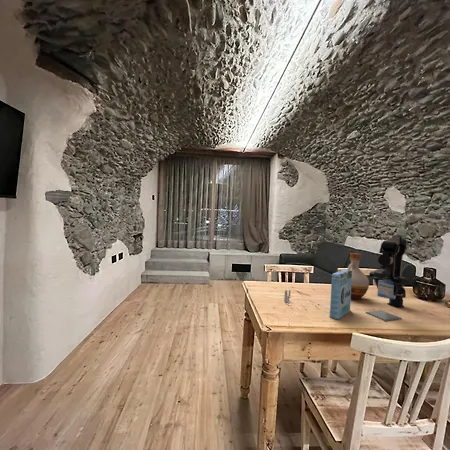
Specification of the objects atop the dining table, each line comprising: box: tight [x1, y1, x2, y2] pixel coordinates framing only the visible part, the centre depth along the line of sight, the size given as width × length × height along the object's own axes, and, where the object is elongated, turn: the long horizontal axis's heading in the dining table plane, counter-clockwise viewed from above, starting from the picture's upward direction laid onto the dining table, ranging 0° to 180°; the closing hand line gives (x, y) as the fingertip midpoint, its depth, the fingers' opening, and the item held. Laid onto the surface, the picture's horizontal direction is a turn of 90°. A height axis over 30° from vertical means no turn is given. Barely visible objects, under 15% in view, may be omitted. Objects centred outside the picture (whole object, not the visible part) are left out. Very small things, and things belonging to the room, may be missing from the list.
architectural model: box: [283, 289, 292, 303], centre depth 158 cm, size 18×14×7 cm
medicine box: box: [376, 279, 396, 300], centre depth 143 cm, size 8×4×9 cm, turn 48°
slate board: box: [365, 309, 403, 322], centre depth 143 cm, size 12×12×1 cm
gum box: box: [329, 269, 352, 320], centre depth 142 cm, size 20×5×23 cm, turn 138°
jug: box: [346, 252, 370, 301], centre depth 173 cm, size 20×18×30 cm
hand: (386, 293), depth 143 cm, fingers closed on medicine box, 9 cm apart
